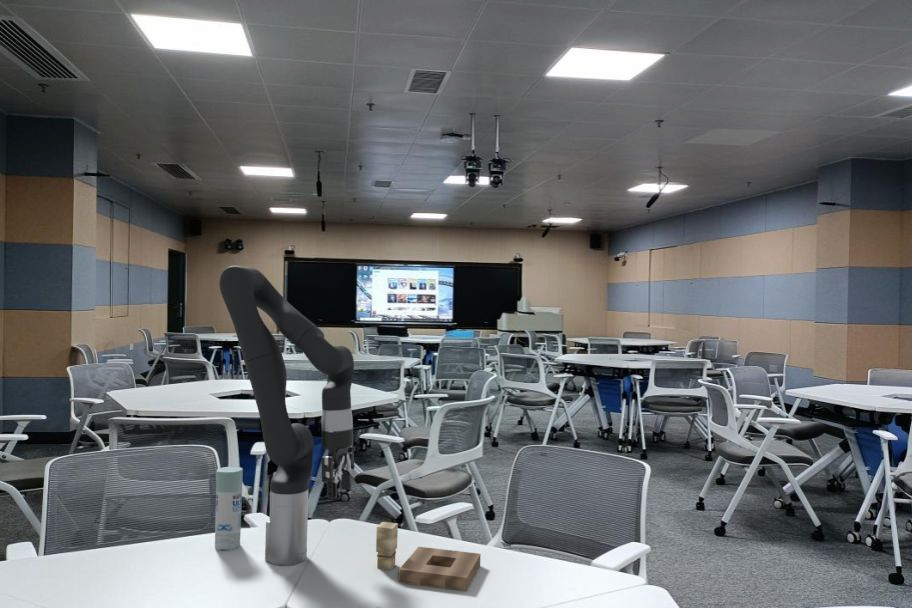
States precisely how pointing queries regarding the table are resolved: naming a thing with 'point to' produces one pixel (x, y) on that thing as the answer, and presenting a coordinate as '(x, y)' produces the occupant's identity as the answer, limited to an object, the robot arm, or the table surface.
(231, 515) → the spray paint can
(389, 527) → the oak peg
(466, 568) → the walnut board
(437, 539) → the table surface
